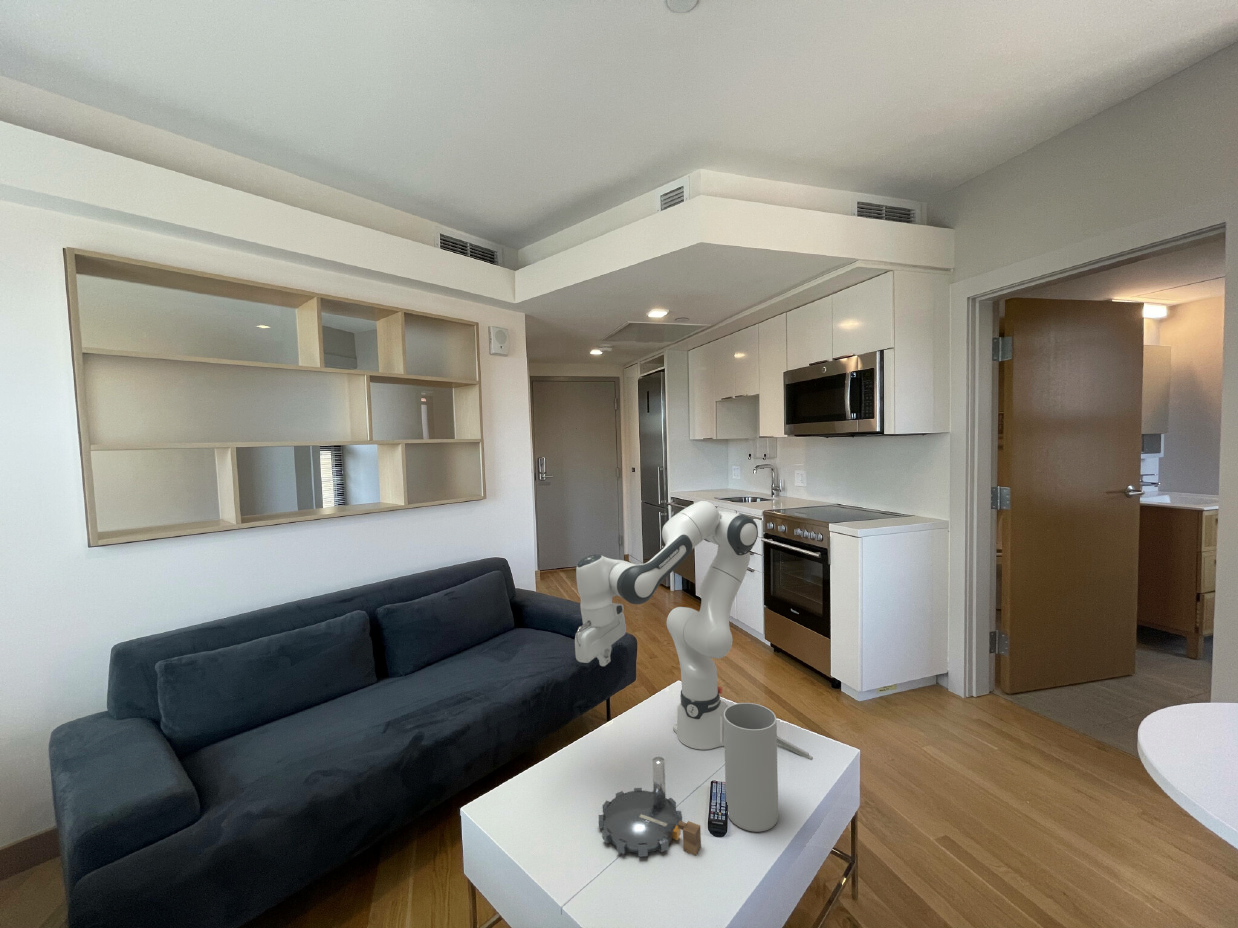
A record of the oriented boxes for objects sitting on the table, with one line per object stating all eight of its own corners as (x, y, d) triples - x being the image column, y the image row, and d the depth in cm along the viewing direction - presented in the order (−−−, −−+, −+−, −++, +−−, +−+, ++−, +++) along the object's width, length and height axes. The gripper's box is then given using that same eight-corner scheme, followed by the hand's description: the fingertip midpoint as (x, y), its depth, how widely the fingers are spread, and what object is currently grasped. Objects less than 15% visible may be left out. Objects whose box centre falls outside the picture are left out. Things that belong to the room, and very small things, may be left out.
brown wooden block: (682, 838, 121) (681, 817, 121) (700, 846, 118) (700, 825, 118) (676, 847, 118) (675, 826, 118) (695, 855, 116) (695, 834, 116)
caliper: (745, 736, 161) (745, 717, 161) (747, 735, 162) (746, 715, 162) (811, 760, 148) (811, 739, 148) (813, 759, 149) (812, 737, 149)
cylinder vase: (787, 811, 128) (785, 713, 127) (764, 842, 119) (761, 736, 118) (741, 790, 137) (739, 697, 136) (716, 816, 127) (713, 718, 126)
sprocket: (664, 787, 137) (662, 740, 137) (695, 842, 118) (693, 788, 118) (591, 804, 132) (589, 755, 131) (611, 865, 113) (609, 808, 112)
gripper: (585, 630, 131) (593, 683, 132) (626, 602, 149) (633, 649, 149) (565, 628, 135) (573, 680, 135) (608, 601, 152) (615, 647, 153)
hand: (605, 663), depth 143 cm, fingers closed
